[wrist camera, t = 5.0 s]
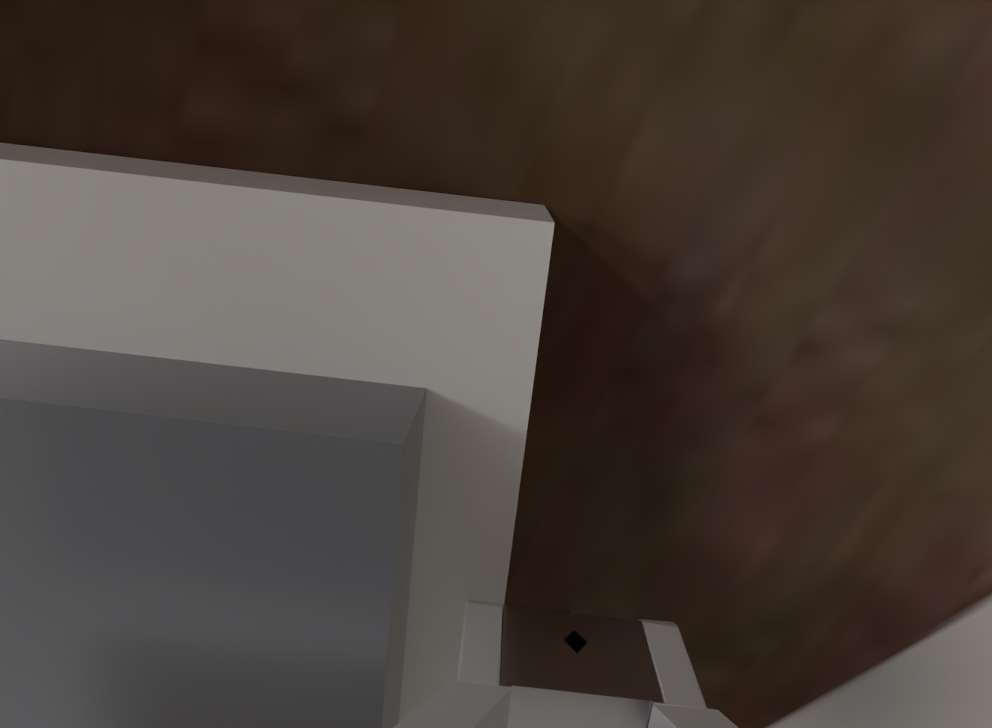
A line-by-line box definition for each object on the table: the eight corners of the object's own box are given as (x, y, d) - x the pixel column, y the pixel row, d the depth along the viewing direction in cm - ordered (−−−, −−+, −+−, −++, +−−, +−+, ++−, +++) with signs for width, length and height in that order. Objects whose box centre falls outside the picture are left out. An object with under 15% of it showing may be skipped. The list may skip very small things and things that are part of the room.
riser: (-263, 628, 16) (-508, 772, 12) (-402, 96, 13) (-800, 67, 9) (479, 714, 16) (466, 885, 12) (544, 205, 13) (554, 222, 9)
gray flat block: (-124, 710, 12) (-251, 818, 10) (-200, 315, 10) (-380, 354, 8) (394, 770, 12) (369, 890, 10) (426, 387, 10) (403, 443, 8)
